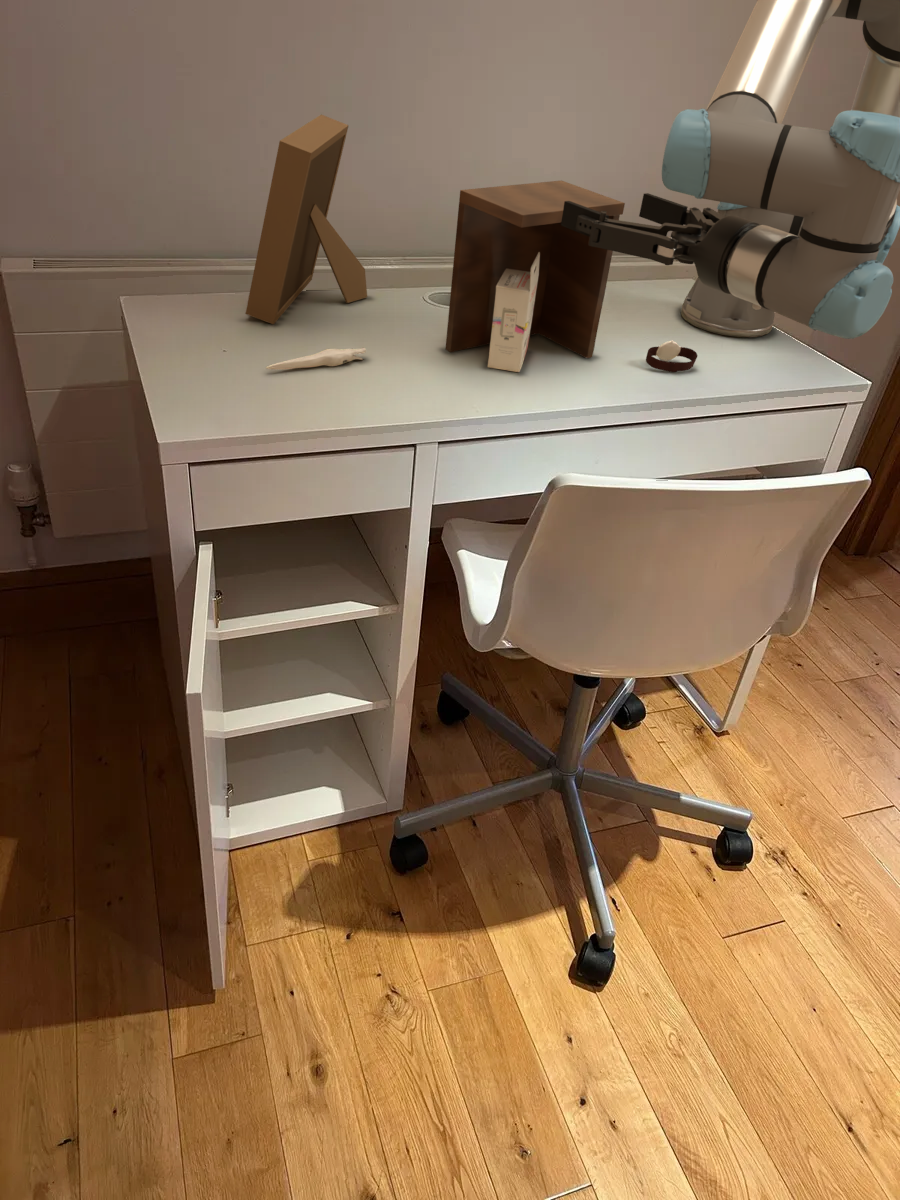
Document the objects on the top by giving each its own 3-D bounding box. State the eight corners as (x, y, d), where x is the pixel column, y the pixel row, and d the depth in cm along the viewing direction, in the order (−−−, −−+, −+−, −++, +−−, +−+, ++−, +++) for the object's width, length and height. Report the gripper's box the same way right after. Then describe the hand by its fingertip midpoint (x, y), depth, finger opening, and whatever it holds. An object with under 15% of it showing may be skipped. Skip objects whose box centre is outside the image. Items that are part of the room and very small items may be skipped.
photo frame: (245, 320, 137) (238, 135, 122) (287, 276, 154) (284, 109, 139) (343, 334, 136) (347, 149, 121) (373, 288, 153) (381, 122, 138)
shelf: (538, 329, 145) (561, 180, 132) (594, 358, 137) (625, 203, 124) (445, 349, 135) (460, 189, 122) (500, 381, 127) (522, 215, 114)
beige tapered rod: (360, 355, 130) (361, 342, 129) (369, 362, 129) (370, 349, 127) (261, 370, 123) (261, 356, 122) (269, 378, 121) (269, 364, 120)
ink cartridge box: (495, 346, 138) (507, 245, 129) (527, 351, 137) (543, 250, 128) (485, 367, 131) (498, 262, 122) (519, 373, 130) (535, 268, 121)
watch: (687, 361, 140) (693, 338, 138) (699, 373, 136) (705, 350, 134) (639, 360, 139) (645, 336, 136) (650, 372, 135) (656, 349, 133)
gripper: (660, 310, 94) (524, 250, 107) (802, 282, 108) (666, 232, 120) (678, 234, 90) (533, 181, 103) (824, 214, 103) (680, 170, 116)
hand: (605, 208), depth 111 cm, fingers open, 13 cm apart
